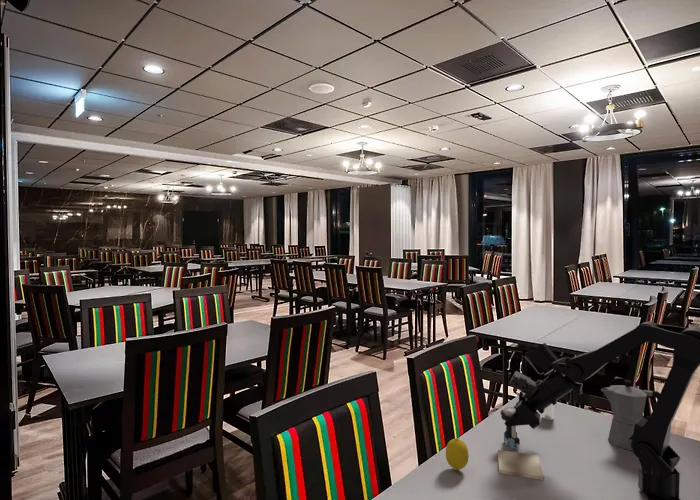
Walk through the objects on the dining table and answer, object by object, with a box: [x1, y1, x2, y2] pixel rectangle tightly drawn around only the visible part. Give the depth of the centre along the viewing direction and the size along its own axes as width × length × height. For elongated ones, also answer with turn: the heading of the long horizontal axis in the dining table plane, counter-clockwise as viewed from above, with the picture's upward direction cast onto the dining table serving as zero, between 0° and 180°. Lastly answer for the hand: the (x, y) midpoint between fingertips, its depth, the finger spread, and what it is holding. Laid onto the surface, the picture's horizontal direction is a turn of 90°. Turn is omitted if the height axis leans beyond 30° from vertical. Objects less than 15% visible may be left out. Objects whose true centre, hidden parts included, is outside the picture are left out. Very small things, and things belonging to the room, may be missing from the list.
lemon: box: [445, 437, 469, 471], centre depth 101 cm, size 6×6×8 cm
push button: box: [500, 406, 521, 451], centre depth 113 cm, size 7×5×10 cm
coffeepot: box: [600, 379, 661, 452], centre depth 115 cm, size 15×9×18 cm, turn 72°
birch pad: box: [497, 449, 545, 481], centre depth 103 cm, size 10×10×1 cm
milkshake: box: [542, 404, 556, 421], centre depth 131 cm, size 4×5×10 cm
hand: (506, 420), depth 114 cm, fingers closed on push button, 5 cm apart
